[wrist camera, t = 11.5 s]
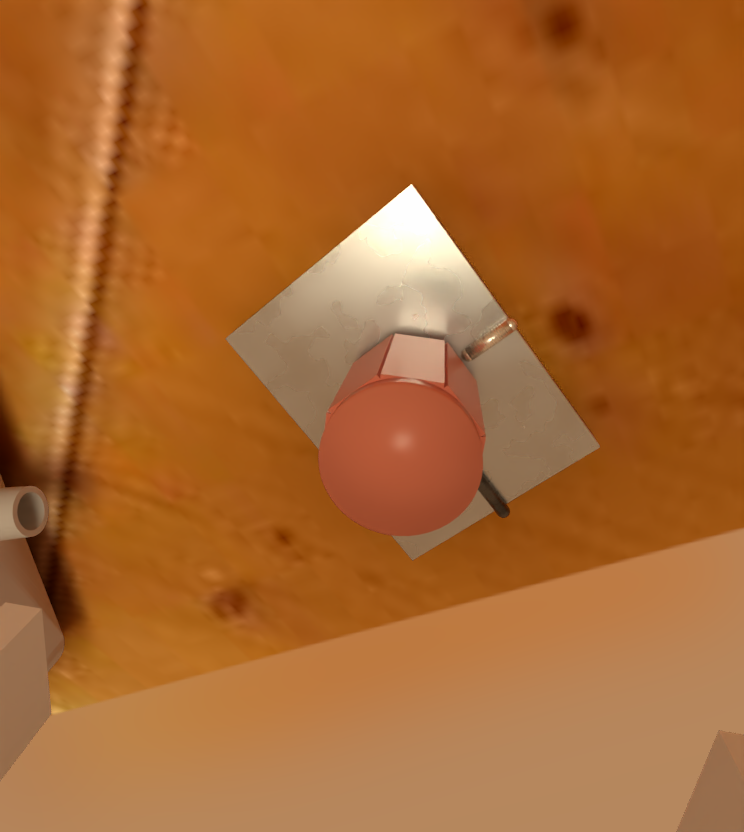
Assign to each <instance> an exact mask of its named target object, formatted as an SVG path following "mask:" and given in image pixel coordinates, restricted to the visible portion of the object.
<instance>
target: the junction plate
mask: <svg viewBox="0 0 744 832" xmlns="http://www.w3.org/2000/svg"><path fill="white" fill-rule="evenodd" d="M517 326H518V325H517V322H516V320H515V319H513V318H509V317H508V316H507V314H506V313H505V312H504V310H503V309H502V308H501V306H500V305H499V303H498V302H497V301H496V299H495V298H494V296H493V295H492V294H491V292H490V291H489V289H488V288H487V287H486V285H485V284H484V282H483V281H482V280H481V278H480V277H479V276H478V274H477V273H476V271H475V270H474V269H473V267H472V266H471V264H470V263H469V262H468V260H467V259H466V257H465V256H464V255H463V253H462V252H461V250H460V249H459V248H458V246H457V245H456V244H455V242H454V241H453V239H452V238H451V237H450V235H449V234H448V232H447V231H446V230H445V228H444V227H443V225H442V224H441V223H440V221H439V220H438V218H437V217H436V216H435V214H434V213H433V212H432V210H431V209H430V207H429V206H428V205H427V203H426V202H425V200H424V199H423V198H422V196H421V195H420V193H419V192H418V191H417V189H416V188H415V187H414V185H413V184H411V185H410V186H409V187H408V188H406V189H405V190H404V191H403V192H402V193H400V194H399V195H398V196H397V197H396V198H394V199H393V200H392V201H391V202H390V203H388V204H387V205H386V206H385V207H384V208H382V209H381V210H380V211H379V212H377V213H376V214H375V215H374V216H373V217H371V218H370V219H369V220H368V221H367V222H365V223H364V224H363V225H362V226H361V227H359V228H358V229H357V230H356V231H355V232H353V233H352V234H351V235H350V236H349V237H347V238H346V239H345V240H344V241H343V242H341V243H340V244H339V245H338V246H337V247H335V248H334V249H333V250H332V251H330V252H329V253H328V254H327V255H326V256H324V257H323V258H322V259H321V260H320V261H318V262H317V263H316V264H315V265H314V266H312V267H311V268H310V269H309V270H308V271H306V272H305V273H304V274H303V275H302V276H300V277H299V278H298V279H297V280H296V281H294V282H293V283H292V284H291V285H290V286H288V287H287V288H286V289H285V290H283V291H282V292H281V293H280V294H279V295H277V296H276V297H275V298H274V299H273V300H271V301H270V302H269V303H268V304H267V305H265V306H264V307H263V308H262V309H261V310H259V311H258V312H257V313H256V314H255V315H253V316H252V317H251V318H250V319H249V320H247V321H246V322H245V323H244V324H242V325H241V326H240V327H239V328H238V329H236V330H235V331H234V332H233V333H232V334H230V335H229V336H228V337H227V338H226V340H227V341H228V342H229V344H230V345H231V346H232V347H233V348H234V350H235V351H236V352H237V353H238V354H239V356H240V357H241V358H242V359H243V360H244V361H245V363H246V364H247V365H248V366H249V367H250V369H251V370H252V371H253V372H254V373H255V374H256V376H257V377H258V378H259V379H260V380H261V382H262V383H263V384H264V385H265V386H266V387H267V389H268V390H269V391H270V392H271V393H272V395H273V396H274V397H275V398H276V399H277V401H278V402H279V403H280V404H281V405H282V406H283V408H284V409H285V410H286V411H287V412H288V414H289V415H290V416H291V417H292V418H293V419H294V421H295V422H296V423H297V424H298V425H299V427H300V428H301V429H302V430H303V431H304V432H305V434H306V435H307V436H308V437H309V438H310V440H311V441H312V442H313V443H314V444H315V446H316V447H317V448H318V449H319V447H320V441H321V438H322V435H323V432H324V430H325V422H326V413H327V411H328V409H329V407H330V405H331V404H332V402H333V400H334V398H335V396H336V394H337V392H338V390H339V389H340V387H341V385H342V383H343V381H344V379H345V377H346V375H347V374H348V372H349V370H350V368H351V366H352V364H353V363H354V362H355V361H356V360H358V359H359V358H360V357H362V356H363V355H365V354H366V353H367V352H369V351H370V350H371V349H373V348H374V347H375V346H377V345H378V344H379V343H381V342H382V341H383V340H385V339H386V338H387V337H389V336H390V335H391V334H392V335H393V336H394V335H395V333H396V334H403V335H410V336H417V337H424V338H431V339H438V340H445V343H447V342H448V343H449V345H450V346H451V347H452V349H453V350H454V351H455V353H456V354H457V355H458V357H459V358H460V360H461V361H462V362H463V364H464V365H465V366H466V368H467V369H468V370H469V372H470V373H471V374H472V376H473V377H474V378H475V380H476V381H477V386H478V392H479V398H480V404H481V410H482V416H483V422H484V428H485V434H486V440H485V445H484V450H483V471H482V478H481V482H480V485H479V488H478V490H477V492H476V495H475V497H474V498H473V500H472V501H471V503H470V504H469V506H468V507H467V508H466V509H465V510H464V512H463V513H461V514H460V515H459V516H458V517H457V518H456V519H454V520H453V521H452V522H450V523H449V524H447V525H445V526H443V527H441V528H440V529H437V530H434V531H432V532H429V533H425V534H421V535H414V536H393V535H391V536H392V537H393V538H394V539H395V540H396V541H397V543H398V544H399V545H400V546H401V547H402V549H403V550H404V551H405V552H406V553H407V554H408V556H409V557H410V558H411V559H412V560H414V559H416V558H417V557H419V556H421V555H422V554H424V553H426V552H427V551H429V550H431V549H432V548H434V547H436V546H437V545H439V544H440V543H442V542H444V541H445V540H447V539H449V538H450V537H452V536H454V535H455V534H457V533H459V532H460V531H462V530H464V529H465V528H467V527H469V526H470V525H472V524H474V523H475V522H477V521H479V520H480V519H482V518H484V517H485V516H487V515H489V514H490V513H492V512H493V511H495V512H496V513H497V515H498V516H499V517H501V518H505V517H507V516H508V515H509V513H510V510H509V507H508V506H507V505H506V504H507V503H508V502H510V501H512V500H513V499H515V498H517V497H518V496H520V495H522V494H523V493H525V492H527V491H528V490H530V489H532V488H533V487H535V486H537V485H538V484H540V483H542V482H543V481H545V480H546V479H548V478H550V477H551V476H553V475H555V474H556V473H558V472H560V471H561V470H563V469H565V468H566V467H568V466H570V465H571V464H573V463H575V462H576V461H578V460H580V459H581V458H583V457H585V456H586V455H588V454H590V453H591V452H593V451H595V450H596V449H598V448H599V447H600V445H599V444H598V442H597V440H596V439H595V437H594V435H593V434H592V433H591V431H590V430H589V429H588V427H587V426H586V424H585V423H584V422H583V420H582V419H581V417H580V416H579V415H578V413H577V412H576V410H575V409H574V408H573V406H572V405H571V403H570V402H569V401H568V399H567V398H566V397H565V395H564V394H563V392H562V391H561V390H560V388H559V387H558V385H557V384H556V383H555V381H554V380H553V378H552V377H551V376H550V374H549V373H548V371H547V370H546V369H545V367H544V366H543V365H542V363H541V362H540V360H539V359H538V358H537V356H536V355H535V353H534V352H533V351H532V349H531V348H530V346H529V345H528V344H527V342H526V341H525V340H524V338H523V337H522V335H521V334H520V333H519V331H518V330H517Z"/></svg>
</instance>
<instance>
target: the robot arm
mask: <svg viewBox="0 0 744 832" xmlns="http://www.w3.org/2000/svg"><path fill="white" fill-rule="evenodd" d="M50 715H51V705H50V694H49V682H48V671H47V660H46V649H45V637H44V626H43V615H42V609H40V608H35V607H29V606H24V605H18V604H12V603H7V602H5V603H4V604H3V605H2V606H1V607H0V781H1V780H2V778H3V777H4V776H5V774H6V773H7V772H8V770H9V769H10V768H11V766H12V765H13V764H14V762H15V761H16V759H17V758H18V757H19V756H20V754H21V753H22V752H23V751H24V749H25V748H26V747H27V745H28V744H29V743H30V741H31V740H32V739H33V737H34V736H35V735H36V733H37V732H38V731H39V729H40V728H41V727H42V725H43V724H44V723H45V722H46V720H47V719H48V718H49V716H50ZM676 832H744V735H741V734H736V733H731V732H725V731H720V730H719V731H718V734H717V736H716V739H715V741H714V743H713V745H712V748H711V750H710V753H709V755H708V757H707V760H706V762H705V765H704V767H703V769H702V772H701V774H700V777H699V779H698V781H697V784H696V786H695V788H694V791H693V794H692V796H691V798H690V800H689V803H688V805H687V808H686V810H685V812H684V815H683V817H682V819H681V822H680V824H679V827H678V829H677V831H676Z"/></svg>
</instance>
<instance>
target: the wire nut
mask: <svg viewBox="0 0 744 832" xmlns="http://www.w3.org/2000/svg"><path fill="white" fill-rule="evenodd" d="M485 440H486V434H485V428H484V422H483V416H482V410H481V404H480V398H479V392H478V386H477V381H476V380H475V378H474V377H473V376H472V374H471V373H470V372H469V370H468V369H467V368H466V366H465V365H464V364H463V362H462V361H461V360H460V358H459V357H458V355H457V354H456V353H455V351H454V350H453V349H452V347H451V346H450V345H449V343H448V342H447V343H445V340H438V339H431V338H424V337H417V336H410V335H403V334H396V333H395V335H394V336H393V335H392V334H391V335H390V336H389V337H387V338H386V339H385V340H383V341H382V342H381V343H379V344H378V345H377V346H375V347H374V348H373V349H371V350H370V351H369V352H367V353H366V354H365V355H363V356H362V357H360V358H359V359H358V360H356V361H355V362H354V363H353V364H352V366H351V368H350V370H349V372H348V374H347V375H346V377H345V379H344V381H343V383H342V385H341V387H340V389H339V390H338V392H337V394H336V396H335V398H334V400H333V402H332V404H331V405H330V407H329V409H328V411H327V413H326V422H325V430H324V432H323V435H322V438H321V441H320V447H319V458H318V462H319V471H320V475H321V479H322V482H323V484H324V487H325V489H326V491H327V493H328V494H329V496H330V498H331V499H332V501H333V502H334V503H335V505H336V506H337V507H338V508H339V509H340V510H341V511H342V512H343V513H344V514H345V515H346V516H348V517H349V518H350V519H351V520H353V521H354V522H356V523H358V524H359V525H361V526H363V527H365V528H367V529H369V530H372V531H375V532H378V533H382V534H387V535H393V536H414V535H421V534H425V533H429V532H432V531H434V530H437V529H440V528H441V527H443V526H445V525H447V524H449V523H450V522H452V521H453V520H454V519H456V518H457V517H458V516H459V515H460V514H461V513H463V512H464V510H465V509H466V508H467V507H468V506H469V504H470V503H471V501H472V500H473V498H474V497H475V495H476V492H477V490H478V488H479V485H480V482H481V478H482V471H483V450H484V445H485Z"/></svg>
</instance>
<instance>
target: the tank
mask: <svg viewBox="0 0 744 832" xmlns="http://www.w3.org/2000/svg"><path fill="white" fill-rule="evenodd" d="M48 513H49V509H48V503H47V499H46V497H45V495H44V493H43V492H42V491H41V490H40V489H39V488H37V487H35V486H20V487H5V485H4V482H3V480H2V477H1V474H0V607H1V606H2V605H3V604H4V603H5V602H7V603H12V604H18V605H24V606H29V607H35V608H40V609H42V615H43V626H44V637H45V649H46V660H47V671H49V670H50V669H51V668H52V667H53V665H54V664H55V663H56V662H57V661H58V659H59V658H60V657H61V655H62V653H63V650H64V636H63V633H62V631H61V628H60V626H59V623H58V621H57V618H56V616H55V613H54V610H53V608H52V605H51V603H50V600H49V598H48V595H47V592H46V590H45V587H44V585H43V582H42V580H41V577H40V574H39V572H38V569H37V567H36V564H35V562H34V559H33V557H32V554H31V551H30V549H29V546H28V544H27V541H26V539H25V538H26V537H33V536H36V535H38V534H39V533H40V532H41V531H42V530H43V529H44V527H45V525H46V523H47V520H48Z"/></svg>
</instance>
